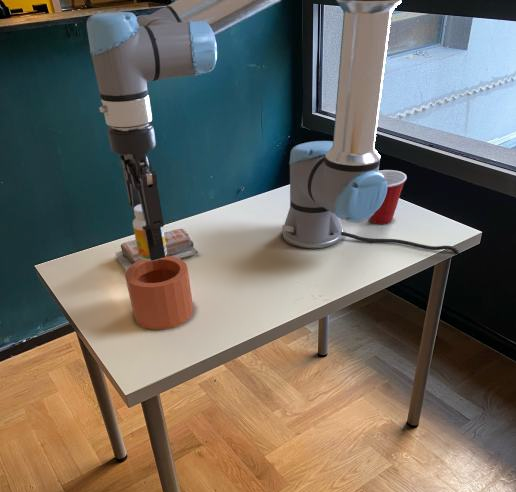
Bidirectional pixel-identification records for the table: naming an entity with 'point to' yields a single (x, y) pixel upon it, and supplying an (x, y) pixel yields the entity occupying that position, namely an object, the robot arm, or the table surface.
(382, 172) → the plastic cup
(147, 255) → the supplement bottle
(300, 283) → the table surface
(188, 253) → the packaged product
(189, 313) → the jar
